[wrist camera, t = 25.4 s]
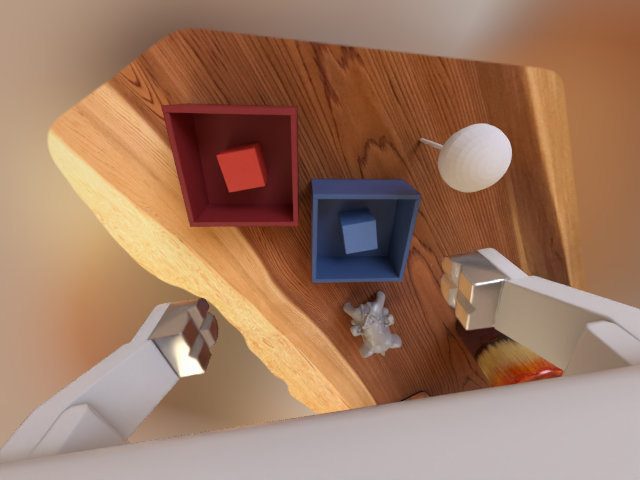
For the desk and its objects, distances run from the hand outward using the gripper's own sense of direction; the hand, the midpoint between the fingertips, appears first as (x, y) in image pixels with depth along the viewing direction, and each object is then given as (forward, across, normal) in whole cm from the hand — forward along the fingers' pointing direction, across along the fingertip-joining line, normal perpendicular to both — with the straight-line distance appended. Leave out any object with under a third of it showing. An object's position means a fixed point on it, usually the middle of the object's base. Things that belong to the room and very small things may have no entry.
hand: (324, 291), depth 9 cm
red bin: (+29, +8, 0) cm, 30 cm away
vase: (+29, -28, +39) cm, 56 cm away
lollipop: (+29, -15, +2) cm, 33 cm away
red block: (+29, +8, 0) cm, 30 cm away
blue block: (+29, -5, +12) cm, 31 cm away
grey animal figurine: (+29, -6, +32) cm, 44 cm away
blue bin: (+29, -5, +12) cm, 32 cm away
